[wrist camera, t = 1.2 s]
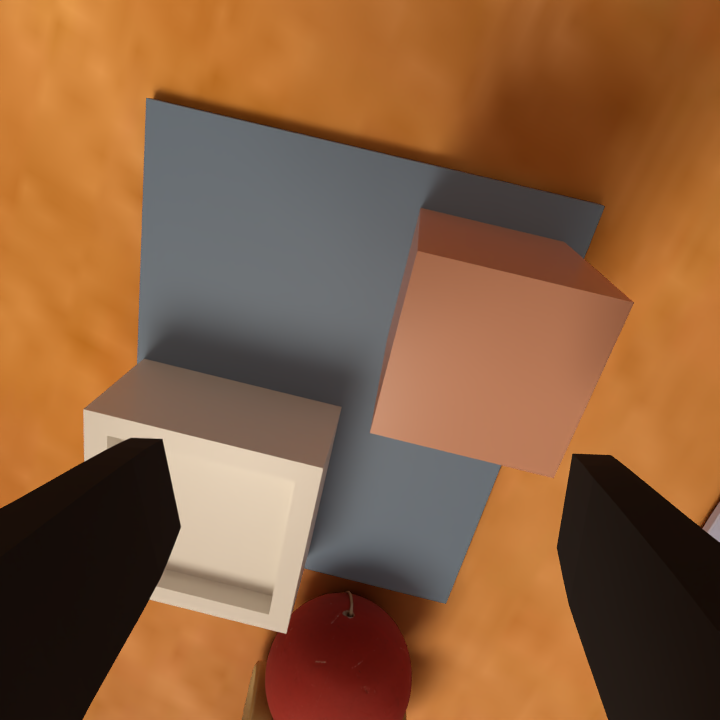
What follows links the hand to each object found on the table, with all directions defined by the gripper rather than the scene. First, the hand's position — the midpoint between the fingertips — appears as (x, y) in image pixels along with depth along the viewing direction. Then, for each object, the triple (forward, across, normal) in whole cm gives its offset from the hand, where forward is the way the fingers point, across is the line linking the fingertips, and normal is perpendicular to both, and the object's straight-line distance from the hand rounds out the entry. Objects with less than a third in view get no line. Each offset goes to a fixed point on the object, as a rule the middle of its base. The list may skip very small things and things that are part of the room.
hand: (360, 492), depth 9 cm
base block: (+9, +6, +6) cm, 13 cm away
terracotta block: (+9, -3, -1) cm, 10 cm away
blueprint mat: (+10, +2, +3) cm, 10 cm away
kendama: (+10, +4, +21) cm, 23 cm away
